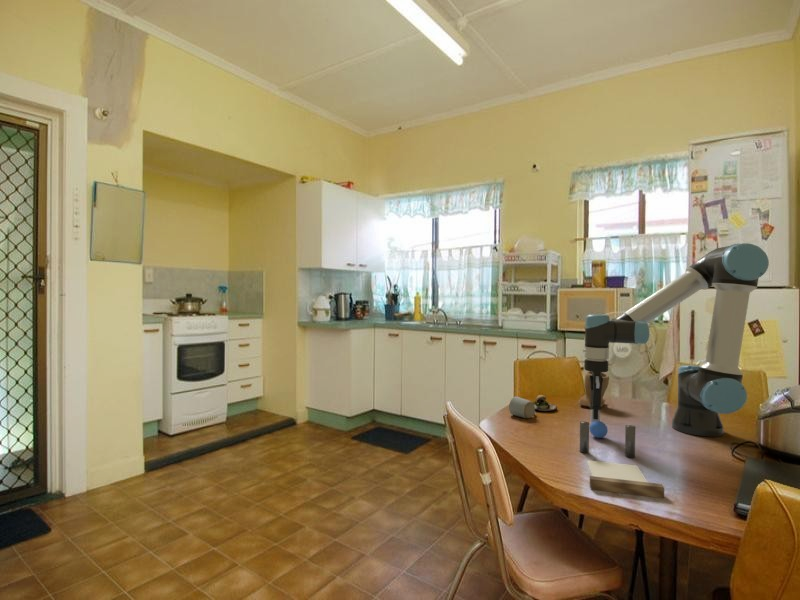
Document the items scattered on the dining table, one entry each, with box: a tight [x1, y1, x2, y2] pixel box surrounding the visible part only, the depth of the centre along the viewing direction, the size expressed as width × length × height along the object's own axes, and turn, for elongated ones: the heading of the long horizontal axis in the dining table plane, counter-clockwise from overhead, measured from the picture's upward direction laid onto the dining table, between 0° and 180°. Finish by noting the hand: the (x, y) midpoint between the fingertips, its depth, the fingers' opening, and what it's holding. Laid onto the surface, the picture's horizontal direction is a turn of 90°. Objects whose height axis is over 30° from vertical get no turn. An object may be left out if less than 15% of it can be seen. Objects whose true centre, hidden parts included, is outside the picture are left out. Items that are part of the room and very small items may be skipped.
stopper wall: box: [589, 475, 665, 499], centre depth 105 cm, size 16×2×2 cm, turn 74°
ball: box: [589, 421, 609, 439], centre depth 145 cm, size 6×6×6 cm
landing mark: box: [586, 460, 648, 482], centre depth 117 cm, size 13×13×1 cm
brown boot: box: [578, 371, 610, 408], centre depth 188 cm, size 15×12×15 cm
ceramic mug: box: [508, 396, 537, 419], centre depth 171 cm, size 10×8×7 cm
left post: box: [579, 421, 590, 455], centre depth 132 cm, size 3×3×9 cm
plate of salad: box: [532, 392, 558, 412], centre depth 182 cm, size 12×12×8 cm
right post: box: [624, 424, 636, 459], centre depth 128 cm, size 3×3×9 cm
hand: (594, 427), depth 149 cm, fingers closed
